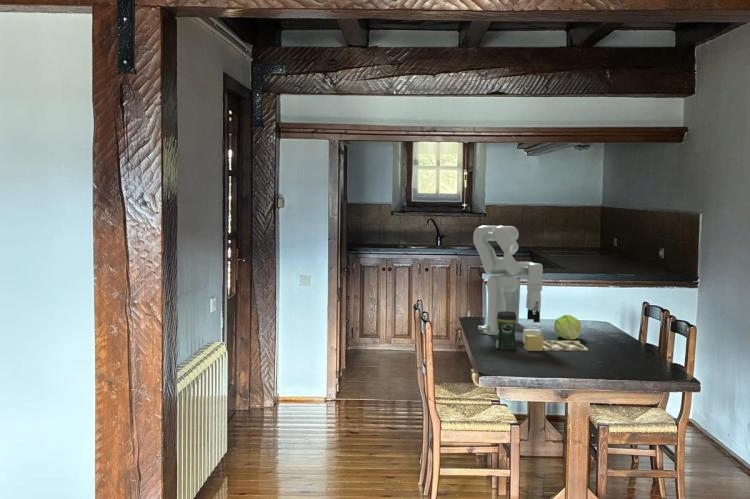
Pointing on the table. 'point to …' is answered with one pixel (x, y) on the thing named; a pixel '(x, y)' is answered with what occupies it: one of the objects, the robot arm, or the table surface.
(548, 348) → the slot board
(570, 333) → the lettuce
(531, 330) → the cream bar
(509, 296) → the vase
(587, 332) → the table surface
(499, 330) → the coffee jar
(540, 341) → the ochre bar
